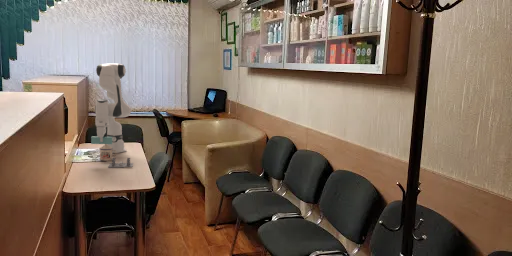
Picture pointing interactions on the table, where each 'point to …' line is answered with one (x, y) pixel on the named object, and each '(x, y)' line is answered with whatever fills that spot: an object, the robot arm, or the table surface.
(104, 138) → the frame bar
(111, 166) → the display stand
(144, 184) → the table surface
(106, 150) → the teacup with lid
